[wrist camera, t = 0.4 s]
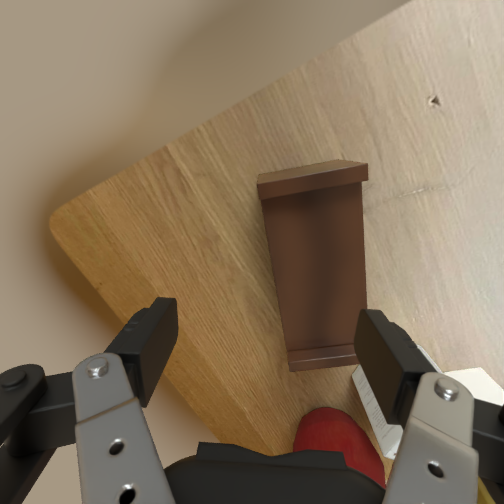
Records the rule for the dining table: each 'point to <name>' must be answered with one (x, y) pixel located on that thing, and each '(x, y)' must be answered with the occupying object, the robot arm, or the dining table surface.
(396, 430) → the small box
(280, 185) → the storage chest
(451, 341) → the dining table surface
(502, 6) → the dining table surface
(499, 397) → the jar
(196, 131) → the dining table surface
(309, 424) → the apple
